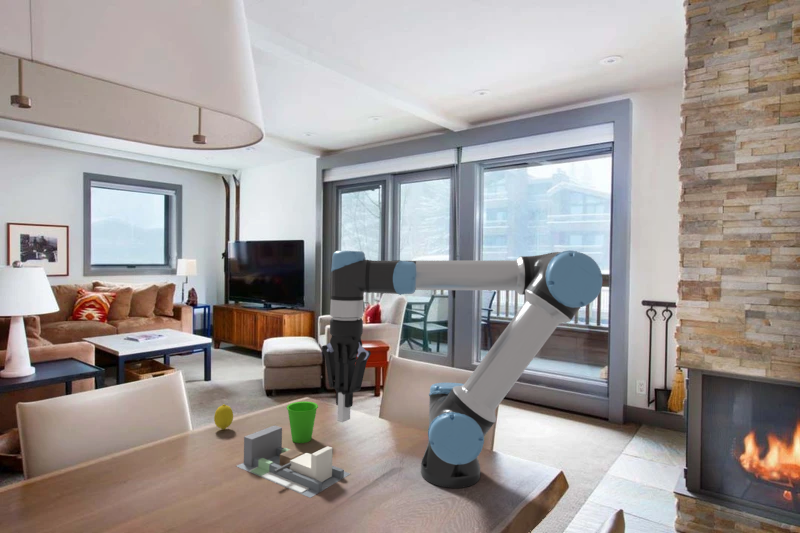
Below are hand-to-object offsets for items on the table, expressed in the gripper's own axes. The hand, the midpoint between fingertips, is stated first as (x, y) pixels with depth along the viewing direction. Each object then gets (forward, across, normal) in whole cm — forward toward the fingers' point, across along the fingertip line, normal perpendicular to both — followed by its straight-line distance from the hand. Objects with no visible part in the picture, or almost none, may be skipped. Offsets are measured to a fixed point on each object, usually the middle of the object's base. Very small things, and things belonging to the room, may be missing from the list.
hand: (343, 419), depth 105 cm
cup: (+18, +28, -15) cm, 37 cm away
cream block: (+16, +10, +2) cm, 19 cm away
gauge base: (+17, +16, 0) cm, 24 cm away
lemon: (+18, +55, -8) cm, 59 cm away
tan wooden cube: (+16, +17, 0) cm, 23 cm away
